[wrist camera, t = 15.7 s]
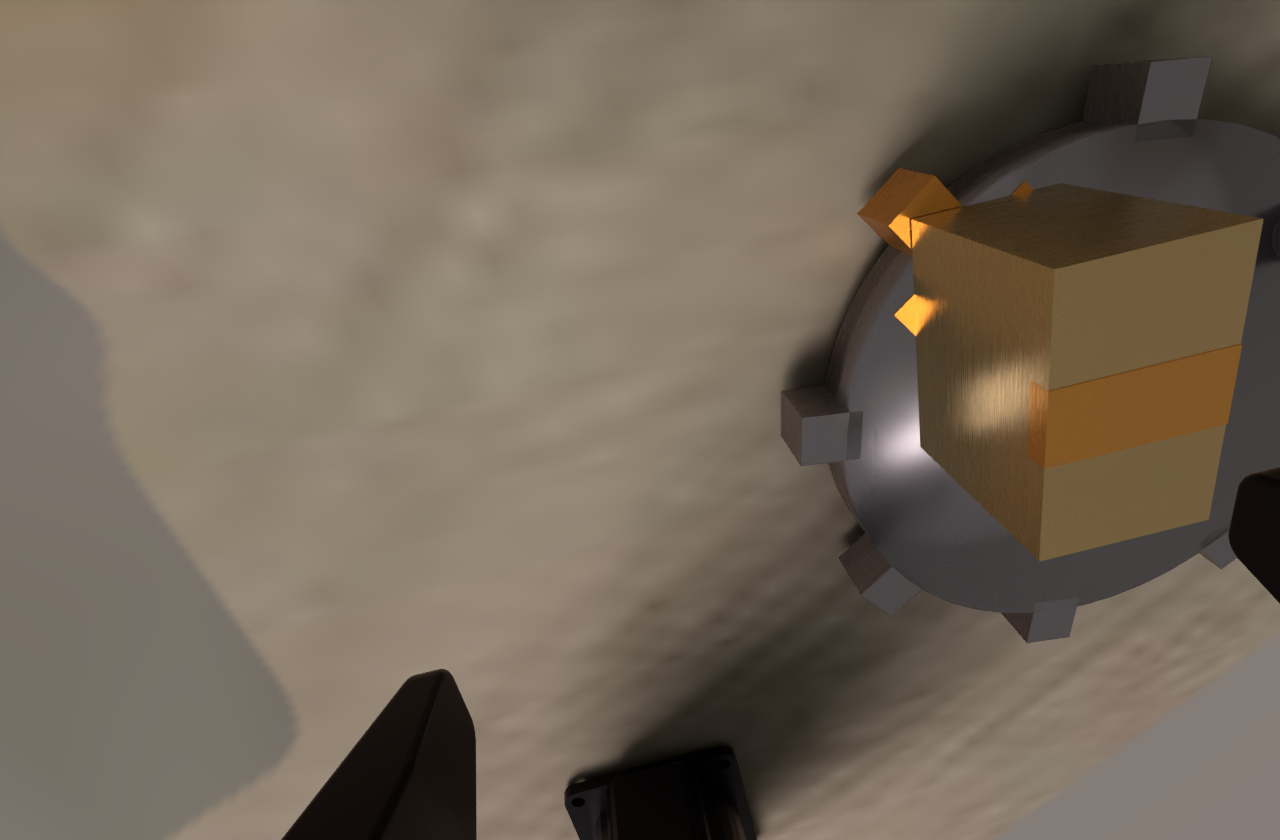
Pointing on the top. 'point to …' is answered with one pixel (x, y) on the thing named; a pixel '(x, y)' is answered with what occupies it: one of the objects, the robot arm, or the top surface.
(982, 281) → the orange banded block
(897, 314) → the sprocket
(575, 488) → the top surface
